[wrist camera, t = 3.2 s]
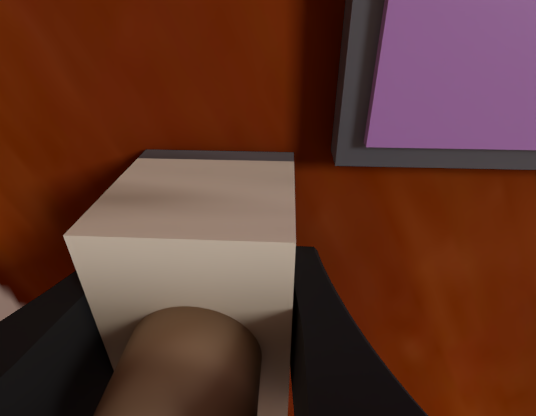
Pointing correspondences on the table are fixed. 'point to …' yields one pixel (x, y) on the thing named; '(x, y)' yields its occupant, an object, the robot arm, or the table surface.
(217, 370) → the stamp
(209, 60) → the table surface
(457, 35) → the ink pad
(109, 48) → the table surface
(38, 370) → the robot arm
